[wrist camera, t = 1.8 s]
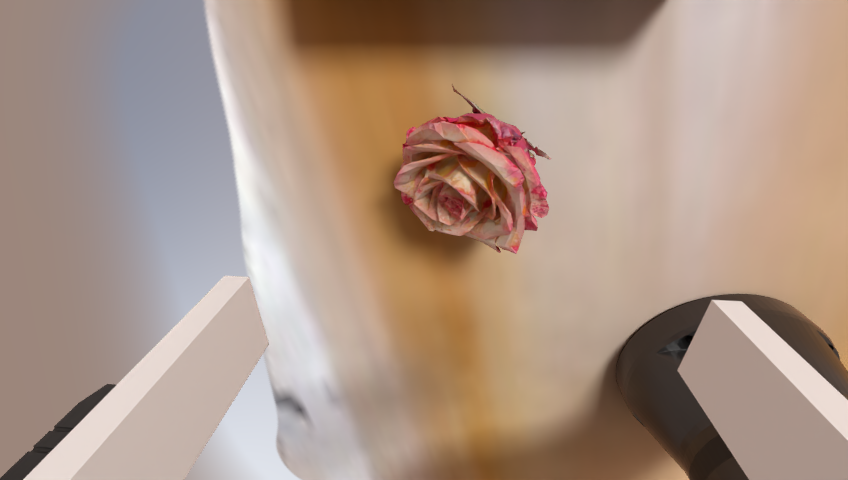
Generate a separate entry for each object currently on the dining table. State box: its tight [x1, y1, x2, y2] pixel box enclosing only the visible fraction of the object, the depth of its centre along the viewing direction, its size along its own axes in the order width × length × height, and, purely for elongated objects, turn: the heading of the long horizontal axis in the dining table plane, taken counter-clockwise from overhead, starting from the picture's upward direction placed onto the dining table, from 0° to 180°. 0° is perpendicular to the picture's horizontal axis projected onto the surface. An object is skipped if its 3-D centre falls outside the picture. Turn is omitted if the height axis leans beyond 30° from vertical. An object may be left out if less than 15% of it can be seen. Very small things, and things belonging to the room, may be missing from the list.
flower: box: [393, 85, 551, 254], centre depth 22 cm, size 10×9×8 cm
